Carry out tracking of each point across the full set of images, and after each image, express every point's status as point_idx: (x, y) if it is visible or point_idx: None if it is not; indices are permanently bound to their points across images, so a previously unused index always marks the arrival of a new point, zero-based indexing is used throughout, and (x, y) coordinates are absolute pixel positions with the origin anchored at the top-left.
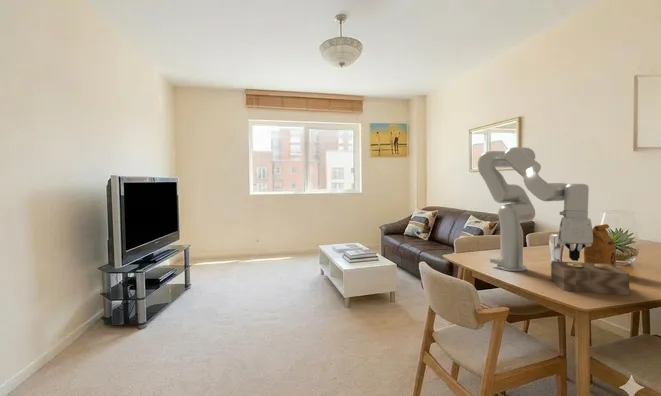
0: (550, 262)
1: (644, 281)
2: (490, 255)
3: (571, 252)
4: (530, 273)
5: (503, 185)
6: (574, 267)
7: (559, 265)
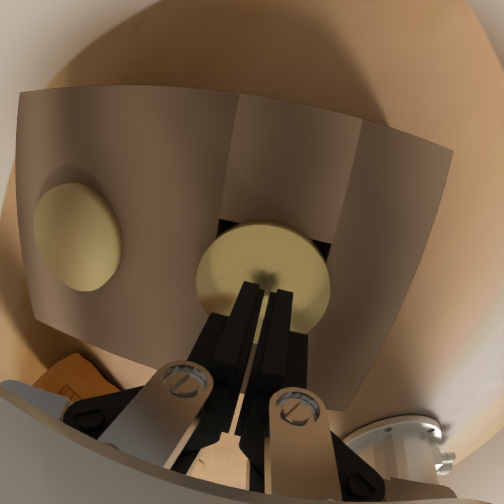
0: (203, 472)
1: (6, 286)
2: None
3: (300, 378)
4: (366, 402)
5: None
6: (302, 233)
7: (388, 303)
